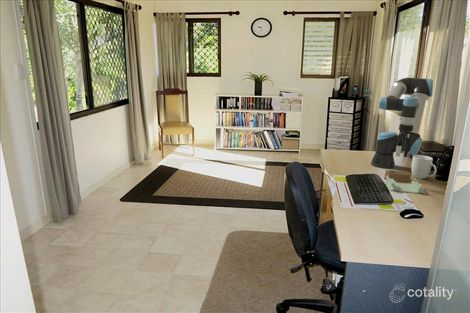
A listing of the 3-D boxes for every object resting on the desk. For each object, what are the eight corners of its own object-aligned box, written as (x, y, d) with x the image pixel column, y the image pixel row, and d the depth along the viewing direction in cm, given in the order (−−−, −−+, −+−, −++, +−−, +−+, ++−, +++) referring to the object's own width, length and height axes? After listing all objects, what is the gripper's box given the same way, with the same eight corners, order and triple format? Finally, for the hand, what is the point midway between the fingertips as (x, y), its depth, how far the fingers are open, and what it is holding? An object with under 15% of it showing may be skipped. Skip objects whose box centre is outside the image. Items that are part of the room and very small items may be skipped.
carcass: (384, 183, 208) (385, 174, 206) (418, 186, 205) (420, 178, 203) (389, 190, 195) (391, 182, 194) (426, 194, 192) (428, 185, 191)
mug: (438, 180, 217) (443, 159, 213) (429, 183, 211) (433, 162, 207) (415, 173, 228) (419, 154, 225) (405, 176, 223) (409, 156, 219)
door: (384, 177, 218) (385, 168, 217) (405, 178, 218) (407, 169, 216) (387, 180, 213) (389, 171, 211) (410, 182, 212) (411, 172, 210)
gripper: (394, 120, 218) (388, 153, 224) (406, 127, 195) (399, 164, 200) (407, 121, 217) (401, 154, 223) (420, 128, 193) (413, 165, 199)
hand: (400, 159), depth 211 cm, fingers open, 13 cm apart
